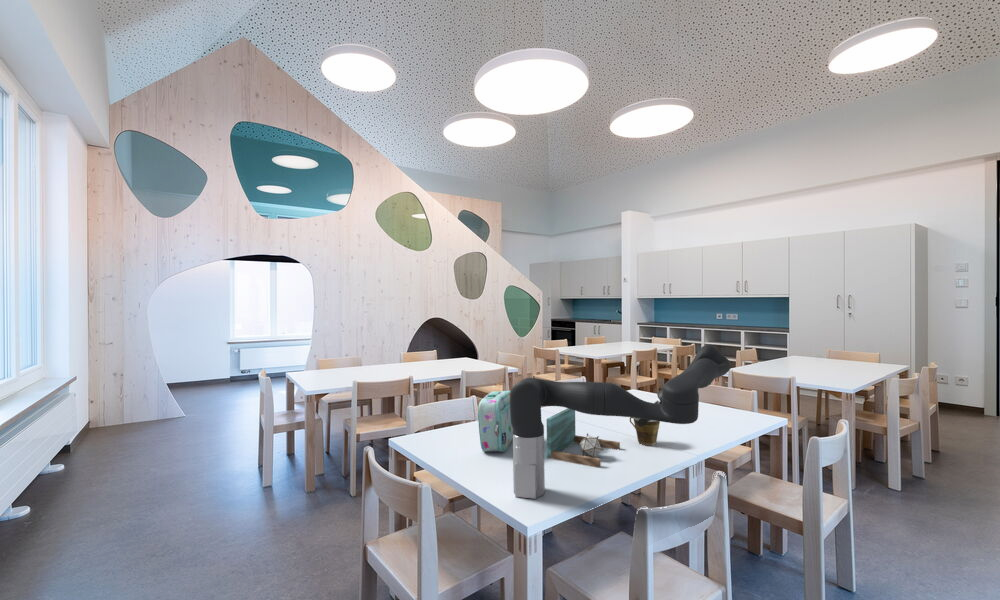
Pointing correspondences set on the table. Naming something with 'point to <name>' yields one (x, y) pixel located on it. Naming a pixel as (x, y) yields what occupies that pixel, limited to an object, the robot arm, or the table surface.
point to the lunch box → (495, 421)
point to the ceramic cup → (646, 432)
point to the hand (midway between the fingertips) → (638, 424)
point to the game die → (590, 446)
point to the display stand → (569, 439)
